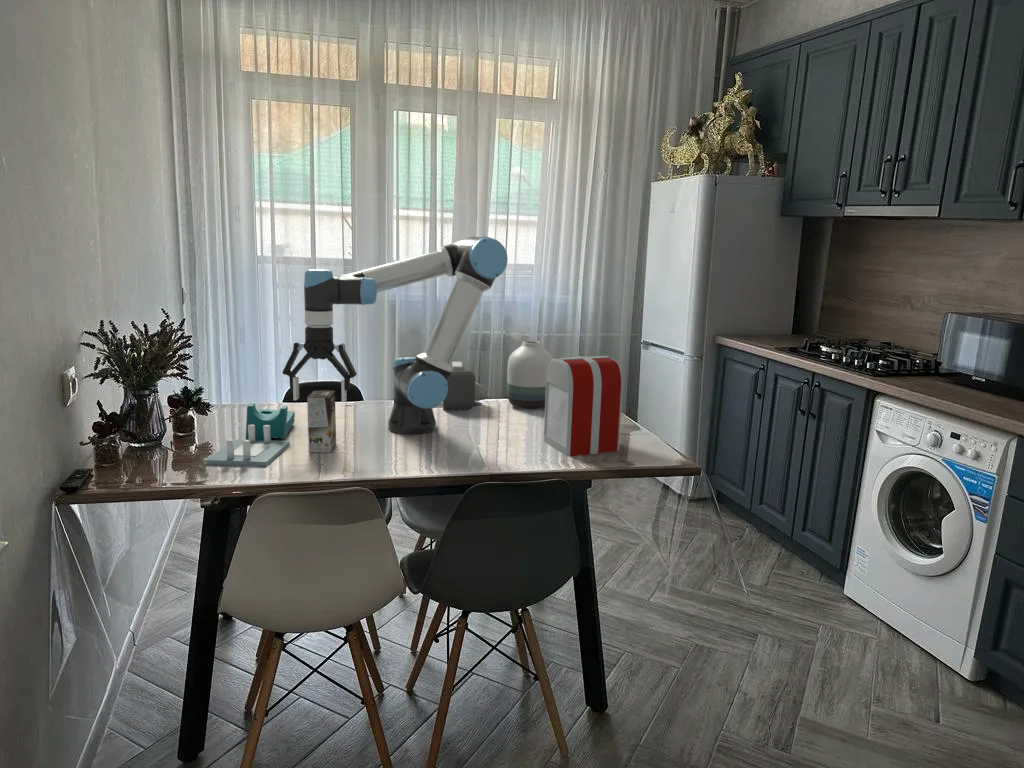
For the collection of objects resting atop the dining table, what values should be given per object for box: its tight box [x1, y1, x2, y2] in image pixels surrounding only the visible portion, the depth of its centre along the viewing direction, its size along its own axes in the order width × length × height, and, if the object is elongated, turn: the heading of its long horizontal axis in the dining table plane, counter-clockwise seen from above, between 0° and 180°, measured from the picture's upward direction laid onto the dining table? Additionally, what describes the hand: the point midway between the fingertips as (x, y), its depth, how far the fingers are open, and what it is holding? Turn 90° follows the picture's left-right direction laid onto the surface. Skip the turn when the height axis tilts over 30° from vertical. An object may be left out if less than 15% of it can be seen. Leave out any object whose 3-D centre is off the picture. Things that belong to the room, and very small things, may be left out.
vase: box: [506, 340, 554, 410], centre depth 255 cm, size 17×17×24 cm
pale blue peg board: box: [205, 425, 291, 467], centre depth 193 cm, size 16×19×6 cm
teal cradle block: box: [245, 402, 296, 441], centre depth 214 cm, size 18×11×10 cm, turn 8°
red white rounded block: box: [543, 355, 624, 457], centre depth 207 cm, size 17×18×27 cm
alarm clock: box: [442, 361, 476, 410], centre depth 254 cm, size 16×11×16 cm
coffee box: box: [306, 390, 337, 453], centre depth 199 cm, size 9×6×16 cm
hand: (320, 400), depth 198 cm, fingers open, 13 cm apart
